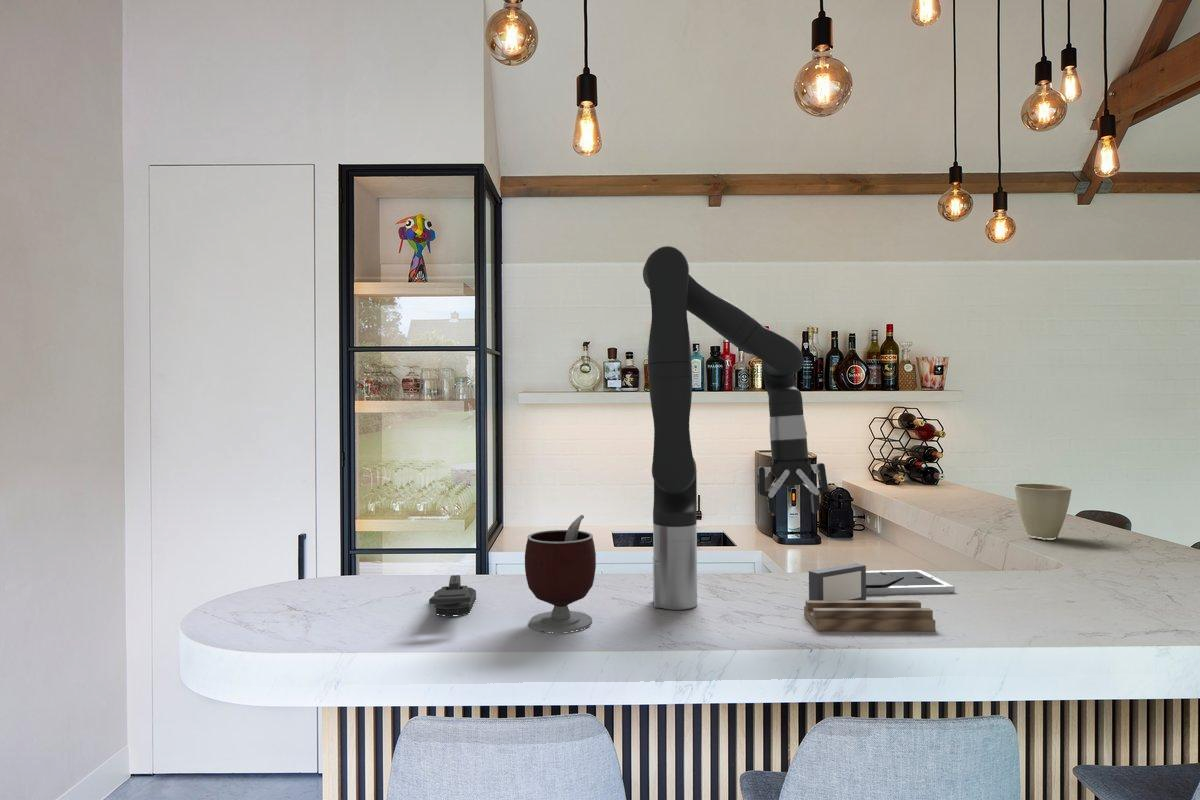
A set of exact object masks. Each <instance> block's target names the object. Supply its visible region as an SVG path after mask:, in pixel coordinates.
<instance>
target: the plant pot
mask: <svg viewBox="0 0 1200 800" xmlns="http://www.w3.org/2000/svg"><path fill="white" fill-rule="evenodd" d="M1014 491H1015V497H1016V503H1017V508H1018V511H1019V514H1020V515H1019V516H1020V518H1021V521H1022V524H1023V525H1022V526H1023V527H1024V529H1025V532H1026V534H1028V535H1031V536H1036V537H1042V538H1055V537H1057V538H1058V537H1059V535H1060V532H1061V530H1062V527H1063V525H1064V521H1065V519H1066V515H1067V512H1068V510H1069V507H1070V506H1069V505H1070V500H1071V496H1072V495H1071V494H1072V487H1069V486H1063V485H1058V484H1057V485H1056V484H1048V483H1047V484H1046V483H1017V484H1014ZM1028 535H1027V536H1028Z"/></svg>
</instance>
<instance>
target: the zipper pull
mask: <svg viewBox="0 0 1200 800" xmlns="http://www.w3.org/2000/svg"><path fill="white" fill-rule="evenodd" d="M461 582H462V581H461V575H459V574H455V575H454V574H452V575H450V577H449V581H448V586H442V587H441V588H439V589H437V590H436V591H434V593H433V595H432V596H431V597H430V598H429V599H428V603H429V605H434V608H436V610H435V615H436V614H439V615H445V616H453V615H462V616H464V615H463V614H467V615H469V614H468V613H470V614H471V612H472V610H473V608H472V607H474V605H475V603H476V601H477V590H476V589H474V588H473V587H468V585H461ZM475 600H476V601H475ZM474 602H475V603H474ZM473 604H474V605H473ZM471 609H472V610H471ZM470 611H471V612H470Z"/></svg>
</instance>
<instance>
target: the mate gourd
mask: <svg viewBox="0 0 1200 800" xmlns="http://www.w3.org/2000/svg"><path fill="white" fill-rule="evenodd" d="M582 520H584V515H583V514H580V515H579V516H578V517H577V518H576V519H575V520H574V521H573V522H571V524H570V525H569V526H568V529H553V530H543V531H536V532H533V533H530V534H528V535H527V537H526V538H527V540H526V544H525V550H524V551H525V552H524V570H525V571H524V572H525V578H526V582H527V586H528V589H529V590H530V591H531V593H532V594H533V595H534V597H535V598H536V599H537V600H539V601H541V602H545V603H547V604H551V605H553V608H552V610H551V611H545V612H541V613H538V614H535V615H533V616H532V617H530V619H529V627H530V626H531V627H532V628H531V627H530V628H531V629H533V628H534V629H536V630H535V631H537V630H539V631H538V632H540V631H545V632H551V633H550V634H565V633H564V632H571V631H576V630H581V629H584V628H587V627H588V626H590V625H591V624H592V625H593V617H591V616H590V615H589V614H587V613H585V612H581V611H574V610H570V609H569V605H571V604H573V603H575V602H577V601H580V600H582V599H584V598H585V597H586V596H587V595H588V593H589V592H590V590H591V589H592V587H593V585H594V582H595V576H596V575H595V574H596V568H597V560H596V559H597V557H596V556H597V553H596V548H595V547H596V546H595V542H594V534H592V533H591V532H588V531H584V530H583V531H582V530H580V526H581V523H582ZM592 625H591V626H592ZM591 626H590V627H591ZM534 629H533V630H534ZM587 629H588V628H587ZM584 630H585V629H584ZM581 631H582V630H581ZM545 632H544V633H545ZM552 632H553V633H552Z"/></svg>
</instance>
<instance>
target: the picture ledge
mask: <svg viewBox="0 0 1200 800" xmlns="http://www.w3.org/2000/svg"><path fill="white" fill-rule="evenodd" d="M804 602H805V606H803V616H805V617H806V618H805V617H804V618H805V619H806V621H808V623H809V622H810V623H811V624H812V625H811V624H810V623H809V624H810V625H811V627H812V628H813V629H816V630H815V631H816V632H936V619H934V618H933V617H934V615H933V613H934V612H933V609H931V608H930V607H922V602H921V601H919V600H916V599H913V600H912V599H909V600H907V599H904V600H902V599H901V600H899V599H898V600H897V599H895V600H894V599H893V600H892V599H890V600H889V599H886V600H885V599H884V600H883V599H882V600H879V599H872V600H871V599H870V600H869V599H866V600H809V599H808V600H806V599H805V601H804Z"/></svg>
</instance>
